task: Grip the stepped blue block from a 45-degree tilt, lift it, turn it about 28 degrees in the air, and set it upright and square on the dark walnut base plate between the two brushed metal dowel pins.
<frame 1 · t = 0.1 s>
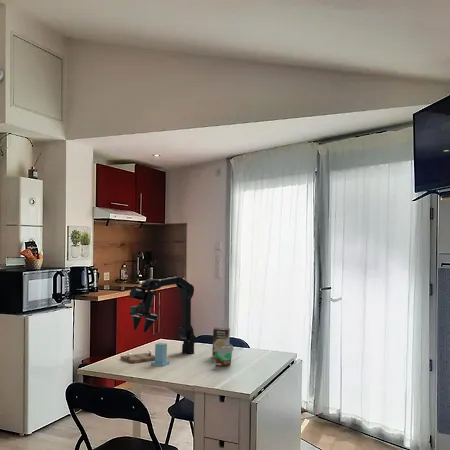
hand: (139, 331, 260), 15 cm above the table, tool pointing down, fingers open, 9 cm apart
food container: (226, 366, 254), on the table
dowel pins: (139, 354, 262), on the walnut base plate, point 2 cm above the table
walnut base plate: (139, 359, 262), on the table
stepped blue block: (160, 364, 252), on the table
coffee box: (220, 357, 273), on the table
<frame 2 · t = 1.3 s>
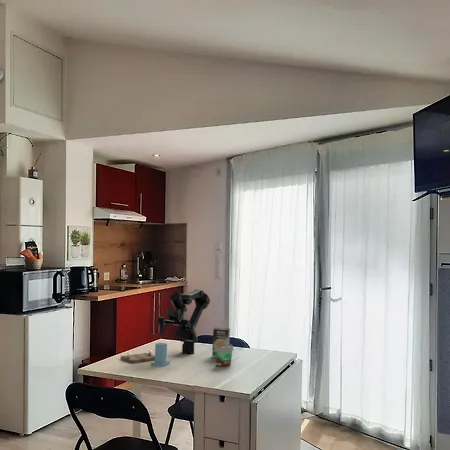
hand: (168, 335, 260), 13 cm above the table, tool tilted 45°, fingers open, 9 cm apart
nothing on the table moved.
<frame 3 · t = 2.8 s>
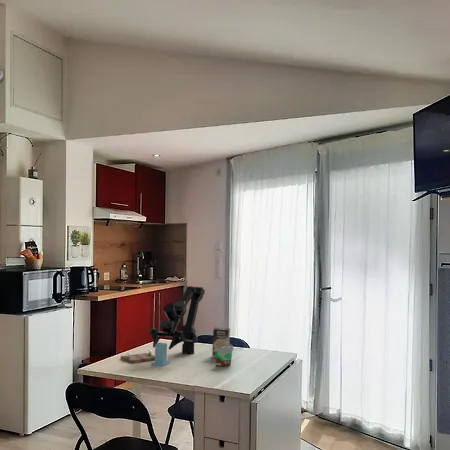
hand: (161, 348, 253), 8 cm above the table, tool tilted 45°, fingers open, 9 cm apart
nothing on the table moved.
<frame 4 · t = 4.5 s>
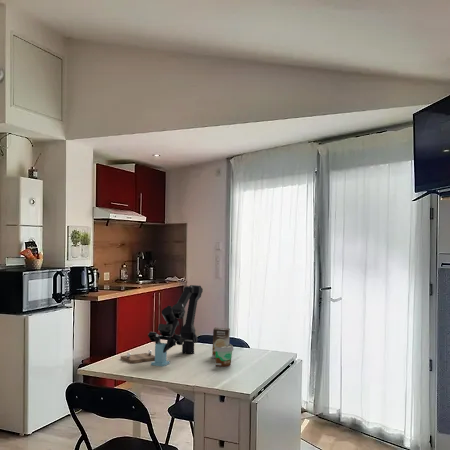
hand: (159, 351, 251), 7 cm above the table, tool tilted 45°, fingers closed on stepped blue block, 4 cm apart
stepped blue block: (160, 364, 252), on the table, touching gripper
everything else where it was.
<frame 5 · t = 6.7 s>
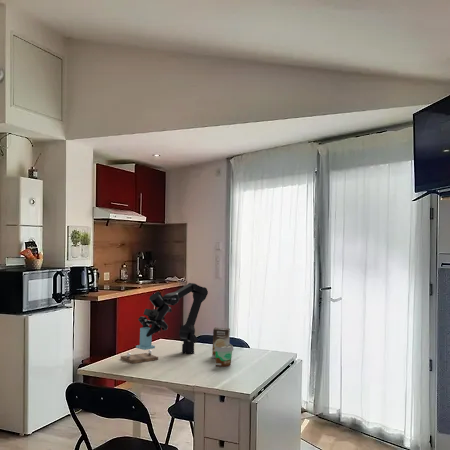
hand: (143, 335, 258), 13 cm above the table, tool tilted 45°, fingers closed on stepped blue block, 4 cm apart
stepped blue block: (145, 348, 258), point 7 cm above the table, touching gripper
everything else where it was.
when the fingers open (9 cm above the table, at t = 8.9 s): stepped blue block drops 1 cm, resting on walnut base plate.
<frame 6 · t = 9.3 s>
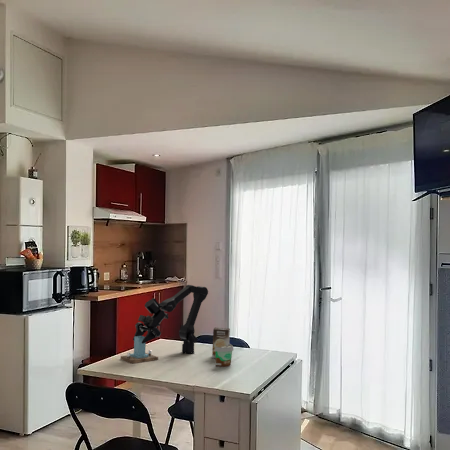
hand: (137, 341, 261), 10 cm above the table, tool tilted 45°, fingers open, 9 cm apart
stepped blue block: (139, 356, 262), point 1 cm above the table, touching walnut base plate
everything else where it was.
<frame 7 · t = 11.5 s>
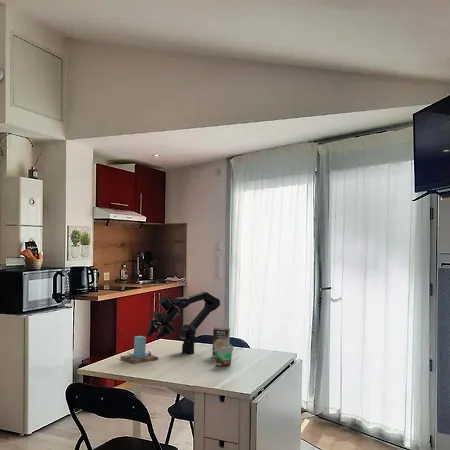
hand: (152, 337, 267), 11 cm above the table, tool tilted 45°, fingers open, 9 cm apart
nothing on the table moved.
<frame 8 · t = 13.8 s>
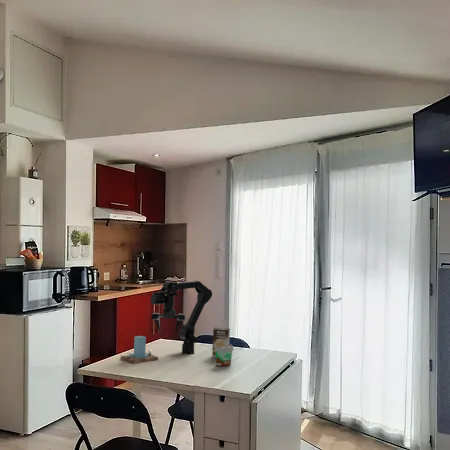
hand: (167, 331, 275), 13 cm above the table, tool pointing down, fingers open, 9 cm apart
nothing on the table moved.
at the end: stepped blue block 0.0 cm off-centre on the walnut base plate, point 1.5 cm above the walnut base plate's base; stepped blue block tilted 0°; the gripper is holding nothing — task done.
